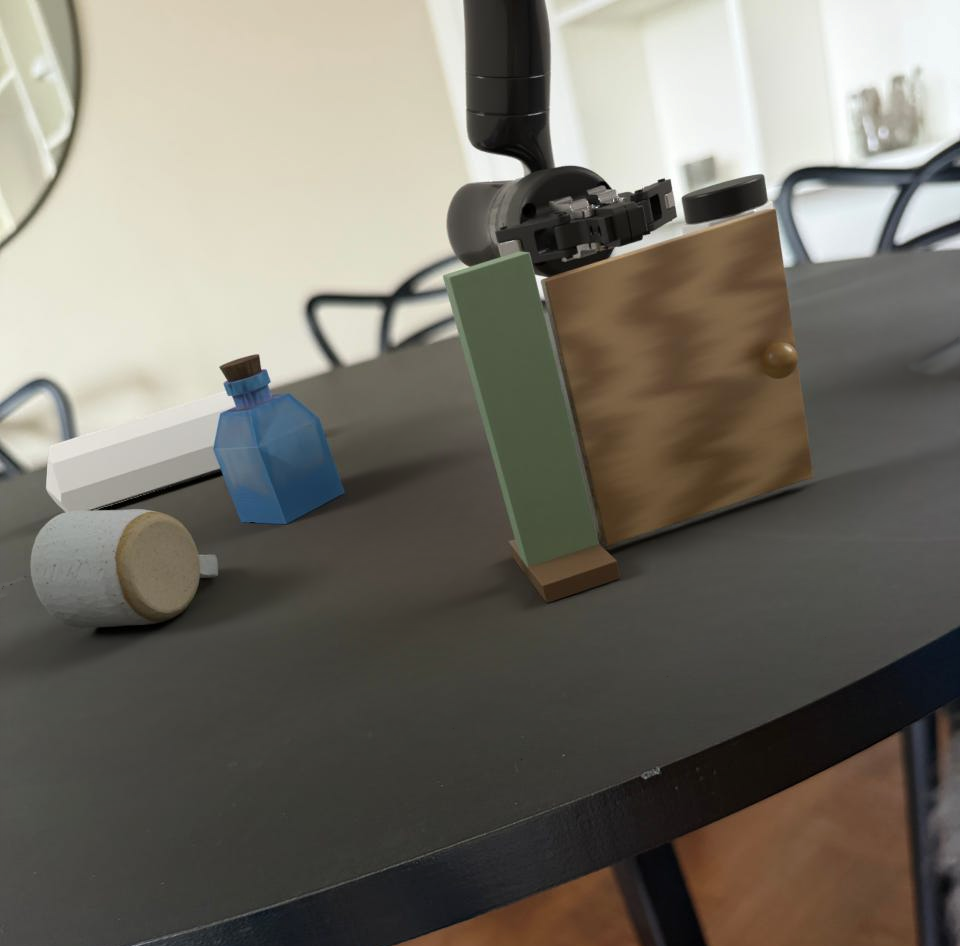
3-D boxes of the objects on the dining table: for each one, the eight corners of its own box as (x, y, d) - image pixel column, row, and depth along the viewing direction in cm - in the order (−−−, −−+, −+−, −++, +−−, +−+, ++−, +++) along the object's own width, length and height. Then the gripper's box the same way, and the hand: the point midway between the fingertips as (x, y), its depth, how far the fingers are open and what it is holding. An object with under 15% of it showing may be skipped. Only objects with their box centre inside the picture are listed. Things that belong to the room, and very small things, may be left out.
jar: (779, 290, 109) (761, 170, 104) (792, 302, 101) (774, 173, 97) (694, 312, 111) (673, 196, 106) (702, 325, 103) (679, 200, 98)
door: (805, 473, 57) (767, 208, 51) (831, 485, 54) (793, 207, 48) (602, 541, 56) (539, 279, 50) (618, 556, 53) (554, 282, 48)
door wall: (577, 535, 59) (507, 249, 53) (621, 578, 52) (545, 253, 45) (512, 557, 59) (433, 272, 52) (546, 603, 52) (459, 280, 45)
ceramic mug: (151, 643, 62) (100, 526, 59) (59, 648, 66) (7, 539, 63) (252, 571, 70) (212, 465, 67) (166, 579, 74) (124, 479, 71)
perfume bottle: (344, 492, 82) (294, 344, 77) (286, 524, 79) (229, 370, 74) (299, 492, 87) (248, 352, 82) (241, 522, 83) (184, 376, 78)
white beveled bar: (31, 496, 97) (274, 419, 99) (28, 447, 101) (261, 374, 103) (67, 546, 103) (295, 473, 105) (63, 498, 107) (283, 429, 109)
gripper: (455, 196, 74) (507, 188, 58) (627, 144, 75) (723, 124, 59) (482, 300, 77) (538, 321, 61) (647, 250, 78) (743, 257, 62)
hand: (629, 224), depth 60 cm, fingers closed
